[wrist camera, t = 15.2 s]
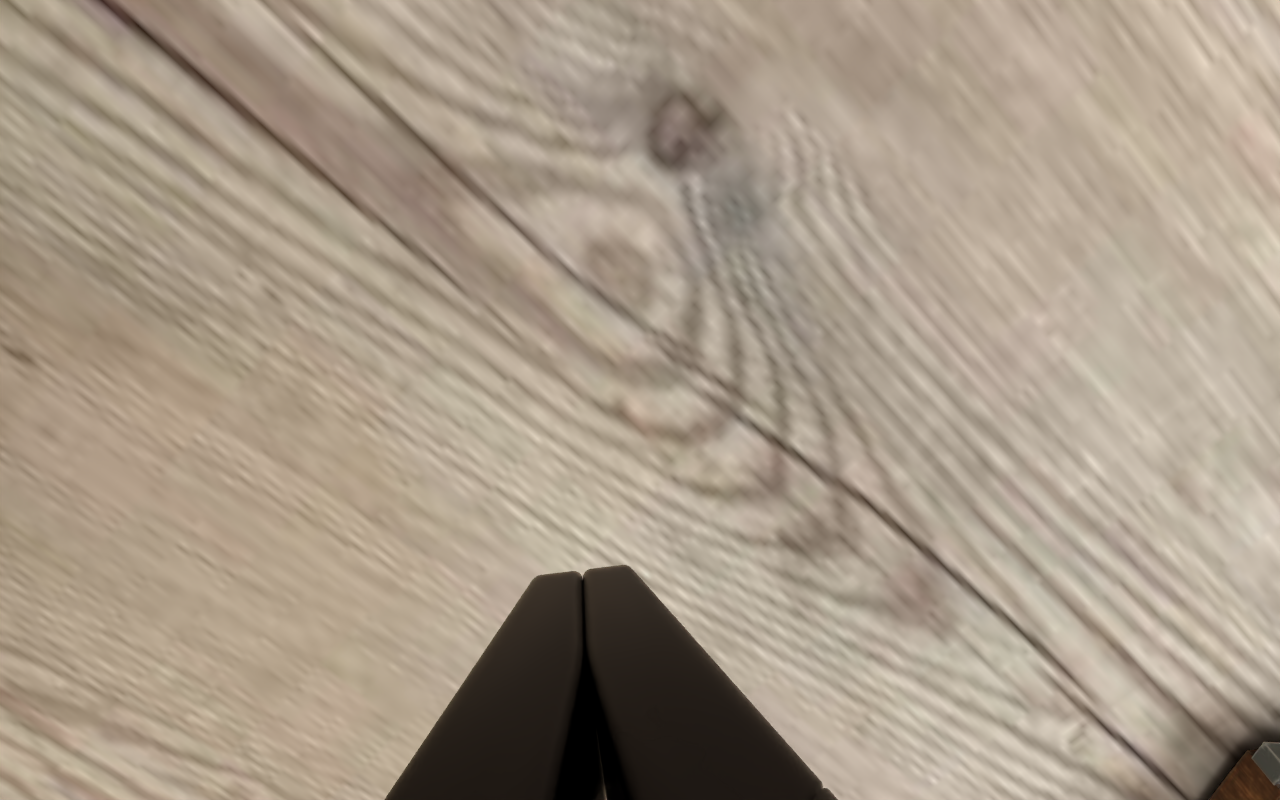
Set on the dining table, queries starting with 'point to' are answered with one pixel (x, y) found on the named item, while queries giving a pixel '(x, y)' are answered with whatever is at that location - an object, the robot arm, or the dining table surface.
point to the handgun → (1253, 776)
